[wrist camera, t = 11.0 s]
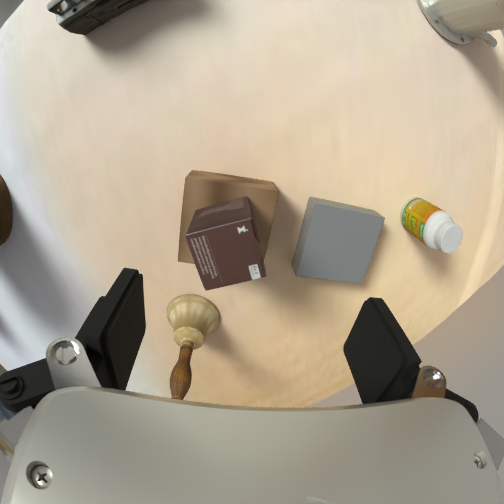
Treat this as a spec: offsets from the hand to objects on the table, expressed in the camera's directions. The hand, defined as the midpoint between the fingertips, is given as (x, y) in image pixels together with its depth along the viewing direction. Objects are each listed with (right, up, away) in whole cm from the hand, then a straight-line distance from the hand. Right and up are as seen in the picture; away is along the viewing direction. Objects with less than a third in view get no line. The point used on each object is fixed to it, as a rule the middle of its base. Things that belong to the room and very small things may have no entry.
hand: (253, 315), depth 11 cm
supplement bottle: (+24, +8, +26) cm, 36 cm away
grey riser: (+11, +4, +27) cm, 29 cm away
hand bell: (-9, -7, +32) cm, 34 cm away
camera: (-17, +36, +10) cm, 41 cm away
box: (-3, +5, +20) cm, 21 cm away
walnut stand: (-3, +7, +25) cm, 26 cm away
